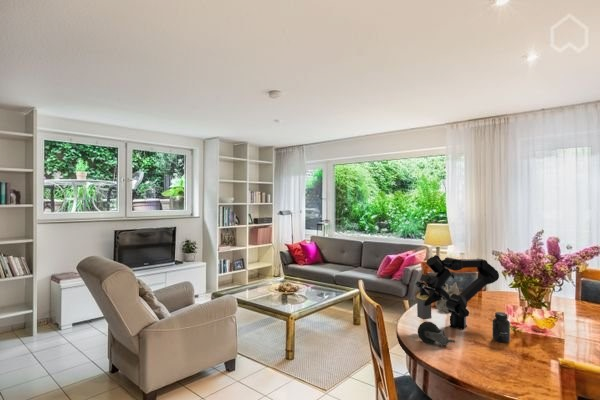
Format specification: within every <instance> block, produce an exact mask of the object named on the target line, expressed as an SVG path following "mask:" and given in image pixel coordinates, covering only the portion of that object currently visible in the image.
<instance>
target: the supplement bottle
mask: <svg viewBox="0 0 600 400" xmlns="http://www.w3.org/2000/svg"><path fill="white" fill-rule="evenodd" d="M508 319H509V318H508V314H507V313H506V312H501V311H496V312H495V313H494V318H493V319H492V339H493V341H494V342H497V343H500V344H508V343H510V341H511V322H510V321H509V320H508Z"/></svg>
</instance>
